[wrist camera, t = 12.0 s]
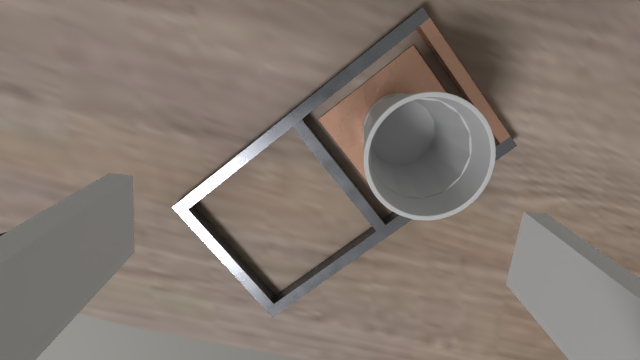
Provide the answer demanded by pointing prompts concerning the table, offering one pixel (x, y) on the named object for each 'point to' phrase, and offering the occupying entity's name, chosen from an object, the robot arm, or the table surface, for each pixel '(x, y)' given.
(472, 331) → the table surface
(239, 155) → the two-slot metal tray
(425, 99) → the cup
